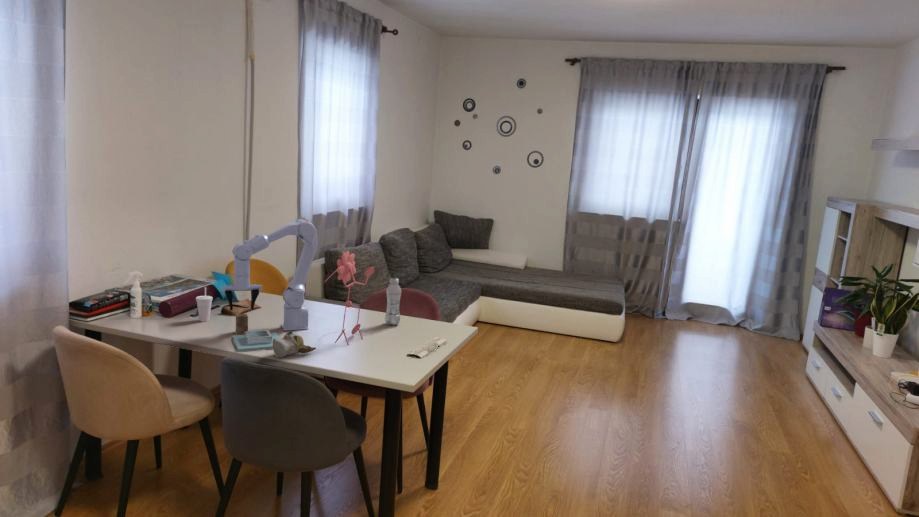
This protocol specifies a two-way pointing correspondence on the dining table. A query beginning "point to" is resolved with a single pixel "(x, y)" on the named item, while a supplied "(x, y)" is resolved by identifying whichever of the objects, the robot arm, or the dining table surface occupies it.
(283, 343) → the ceramic sculpture
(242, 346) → the board
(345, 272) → the figurine
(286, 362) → the dining table surface
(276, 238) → the robot arm
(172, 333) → the dining table surface
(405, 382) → the dining table surface
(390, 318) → the plastic bottle
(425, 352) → the newspaper
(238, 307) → the sunglasses case
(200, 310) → the smoothie
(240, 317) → the peg
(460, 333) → the dining table surface
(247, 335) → the socket
